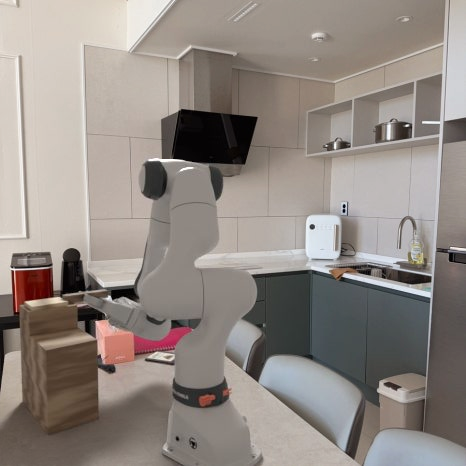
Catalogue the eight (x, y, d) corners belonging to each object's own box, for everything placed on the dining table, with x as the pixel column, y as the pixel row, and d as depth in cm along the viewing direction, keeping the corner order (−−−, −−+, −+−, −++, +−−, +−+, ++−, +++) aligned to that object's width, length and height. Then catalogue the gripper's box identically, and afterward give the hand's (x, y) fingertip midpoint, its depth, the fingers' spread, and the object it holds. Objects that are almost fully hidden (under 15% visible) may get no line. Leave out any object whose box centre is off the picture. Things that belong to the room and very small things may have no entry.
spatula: (101, 294, 131) (101, 287, 130) (111, 299, 125) (111, 292, 125) (24, 305, 117) (24, 297, 117) (31, 310, 112) (31, 302, 112)
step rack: (98, 419, 110) (96, 315, 108) (48, 435, 103) (45, 324, 100) (67, 389, 127) (65, 298, 125) (22, 401, 120) (19, 305, 117)
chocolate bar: (193, 366, 143) (144, 359, 150) (193, 369, 143) (144, 361, 150) (205, 357, 152) (158, 350, 158) (205, 359, 152) (158, 353, 158)
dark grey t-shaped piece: (94, 381, 134) (93, 372, 134) (66, 368, 144) (66, 360, 143) (132, 367, 145) (132, 359, 145) (105, 356, 155) (105, 349, 155)
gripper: (112, 296, 140) (73, 279, 132) (143, 309, 124) (101, 290, 116) (102, 315, 138) (62, 298, 130) (133, 331, 123) (89, 313, 115)
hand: (81, 295), depth 123 cm, fingers closed on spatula, 2 cm apart
